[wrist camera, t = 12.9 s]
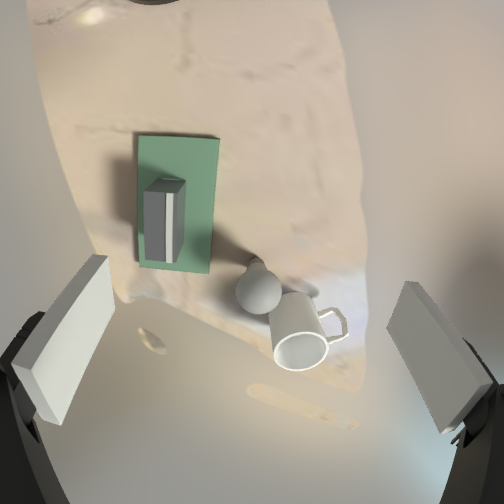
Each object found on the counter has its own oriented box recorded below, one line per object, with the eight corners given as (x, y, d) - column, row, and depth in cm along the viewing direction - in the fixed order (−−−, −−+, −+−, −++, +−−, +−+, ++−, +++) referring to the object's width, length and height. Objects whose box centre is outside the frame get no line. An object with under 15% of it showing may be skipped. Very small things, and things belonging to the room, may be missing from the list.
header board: (141, 135, 39) (130, 138, 35) (220, 139, 40) (217, 142, 36) (141, 263, 48) (133, 278, 43) (209, 270, 48) (206, 286, 44)
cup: (340, 313, 53) (356, 352, 44) (277, 335, 55) (283, 376, 46) (330, 277, 50) (347, 314, 41) (261, 301, 52) (265, 342, 42)
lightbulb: (236, 280, 49) (236, 324, 40) (235, 245, 47) (233, 284, 37) (275, 279, 50) (283, 322, 40) (276, 243, 47) (285, 282, 37)
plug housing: (156, 178, 41) (143, 191, 35) (186, 180, 41) (177, 194, 35) (156, 239, 45) (144, 260, 39) (183, 242, 45) (175, 263, 39)
